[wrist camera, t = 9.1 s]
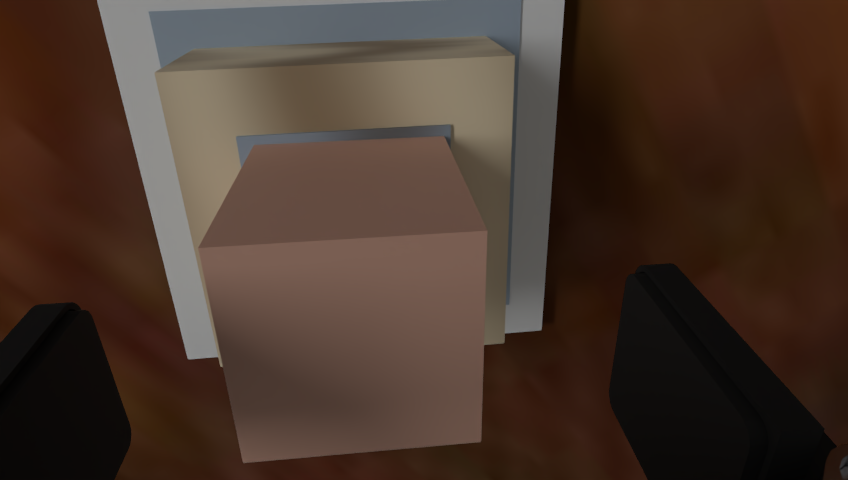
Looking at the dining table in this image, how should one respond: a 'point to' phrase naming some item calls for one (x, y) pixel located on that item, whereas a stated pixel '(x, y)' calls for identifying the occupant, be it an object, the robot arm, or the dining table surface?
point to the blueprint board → (328, 23)
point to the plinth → (346, 120)
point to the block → (349, 298)
